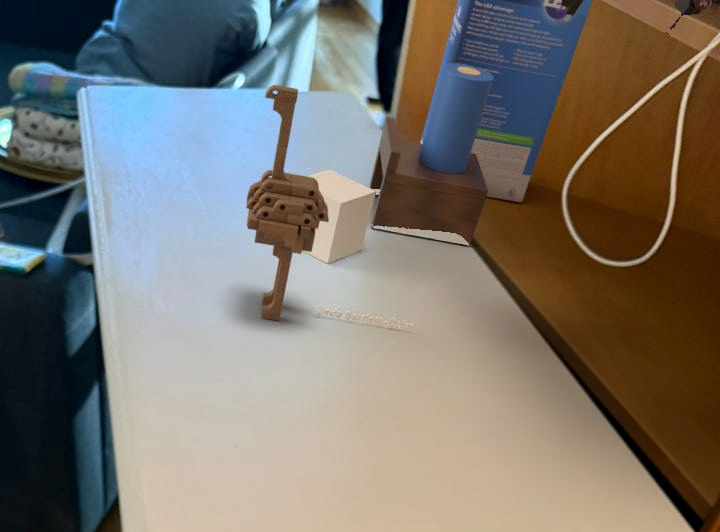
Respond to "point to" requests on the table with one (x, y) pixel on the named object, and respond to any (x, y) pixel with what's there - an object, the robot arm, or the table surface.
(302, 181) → the brown mechanical linkage
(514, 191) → the string lights box
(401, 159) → the dark brown wooden box
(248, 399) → the table surface
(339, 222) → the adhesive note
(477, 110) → the blue cylinder
